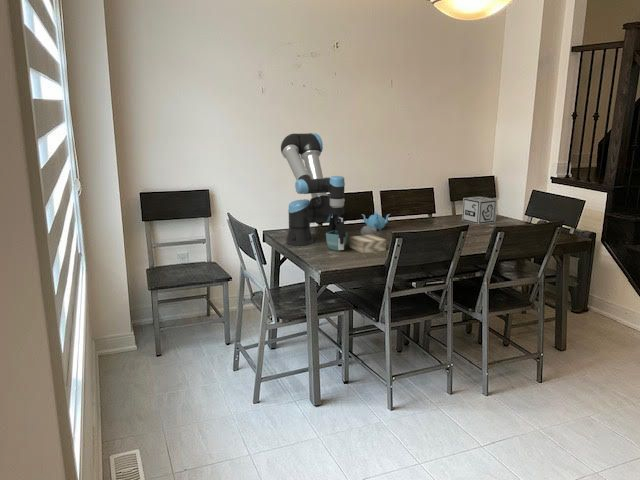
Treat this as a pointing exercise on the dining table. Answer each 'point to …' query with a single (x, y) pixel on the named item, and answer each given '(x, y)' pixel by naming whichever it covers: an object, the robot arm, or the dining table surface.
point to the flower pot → (334, 239)
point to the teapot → (376, 221)
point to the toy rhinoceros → (368, 230)
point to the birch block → (367, 243)
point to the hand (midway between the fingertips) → (336, 247)
